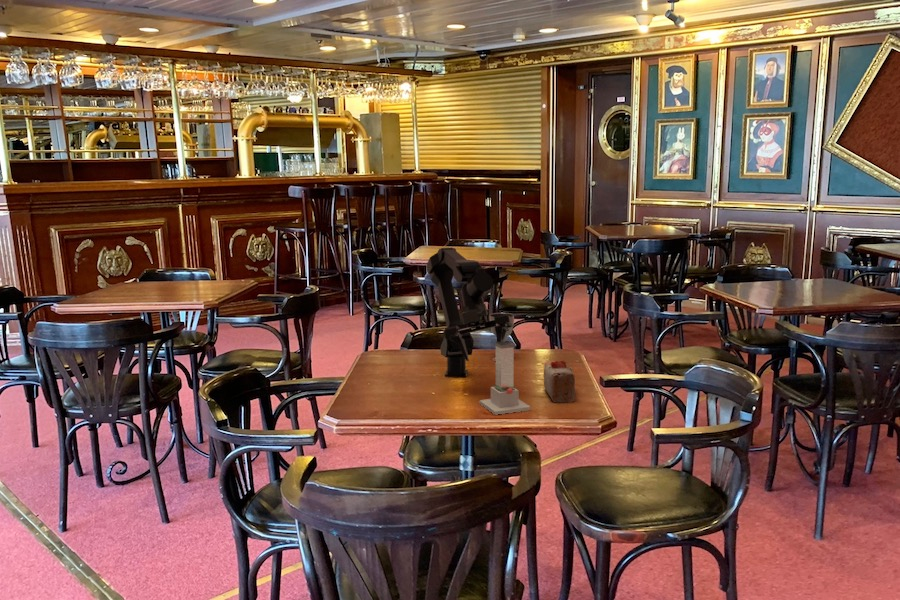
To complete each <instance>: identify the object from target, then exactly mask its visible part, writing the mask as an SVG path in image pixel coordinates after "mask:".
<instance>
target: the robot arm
mask: <svg viewBox="0 0 900 600" xmlns="http://www.w3.org/2000/svg"><path fill="white" fill-rule="evenodd" d="M426 272H427V273H428V275H429V278H430V281H431V282H432V283H433V284H434V285H435V286H436V287H437V290H438V294H439V295H438V296H439V298H440V303H441V307H442V312H443V316H444V320H445V325H446V327H445V328H444V330H443V340H442V342H441V345H440V348H439V349H440V355H442V356H443V357H444V358H446V372H445V373H444V377H448V378H449V377H451V378H453V377H454V378H466V377H467V375H468V372H469V370H468V369H467V366H466V365H467V363H466V362H469V356H472V354H473V348H474V341H475V340H474V339H473V336H472V333H475V332H480V331H483V330H489V329H491V328H493V327H495V330H496V336H497V338H496V342H503V340H504V337H505V334H506V331H509V328H510V327H513V328H514V325H513V322H512V319H511V317H510V316H509V315H508V314H502V315H498V316H494V320H493V321H490V320H488V318H487V316H488V315H489V312H488V307H487V306H486V303H485V302H484V301H485V300H484V297H485V296H486V295H487V294H488V292H490V290H491V289H492V288H493V287H494V279H493V278H492V276H491V274H489V273H488V272H486V271H485V268H483V266H482V265H481V264H480V262H478V260H473V259H467V258H465V257H464V256H463V255H461V254H460V253H459V252H458V251H457V249H456V248H454V247H441V248H439V249H438V250H437V252H436V253H434V254H433V255H431V256H430V257H429V259H428V261H427V263H426ZM453 278H454V279H455V280H456V282H458V283H465V284H463V285H462V287H461V289H460V291H459V293H460V295H461V298H462V303H463V311H462V312H461V313H460V310H459V307H458V302H457V297H456V293H455V290H454V286H453V285H454V284H453V281H452V280H453ZM496 336H495V337H496Z"/></svg>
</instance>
